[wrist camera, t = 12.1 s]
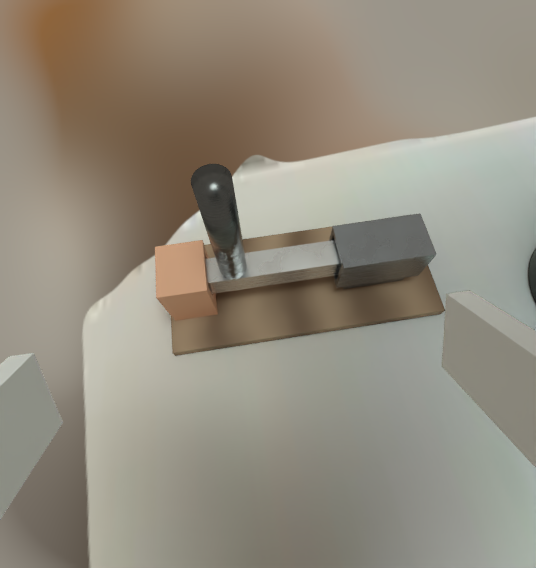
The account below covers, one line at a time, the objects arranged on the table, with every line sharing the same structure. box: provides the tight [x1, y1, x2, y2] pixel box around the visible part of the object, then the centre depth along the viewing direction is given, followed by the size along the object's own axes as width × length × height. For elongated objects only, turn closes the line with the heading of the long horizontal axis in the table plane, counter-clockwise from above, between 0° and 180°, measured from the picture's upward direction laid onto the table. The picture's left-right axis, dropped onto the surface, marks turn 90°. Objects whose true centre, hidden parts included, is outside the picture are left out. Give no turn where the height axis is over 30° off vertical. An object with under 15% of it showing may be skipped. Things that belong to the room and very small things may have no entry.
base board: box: [171, 227, 445, 356], centre depth 36 cm, size 26×11×1 cm, turn 99°
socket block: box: [155, 240, 218, 321], centre depth 33 cm, size 4×5×6 cm
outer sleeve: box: [329, 214, 436, 289], centre depth 33 cm, size 8×4×6 cm, turn 99°
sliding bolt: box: [191, 164, 342, 294], centre depth 27 cm, size 17×2×14 cm, turn 99°
